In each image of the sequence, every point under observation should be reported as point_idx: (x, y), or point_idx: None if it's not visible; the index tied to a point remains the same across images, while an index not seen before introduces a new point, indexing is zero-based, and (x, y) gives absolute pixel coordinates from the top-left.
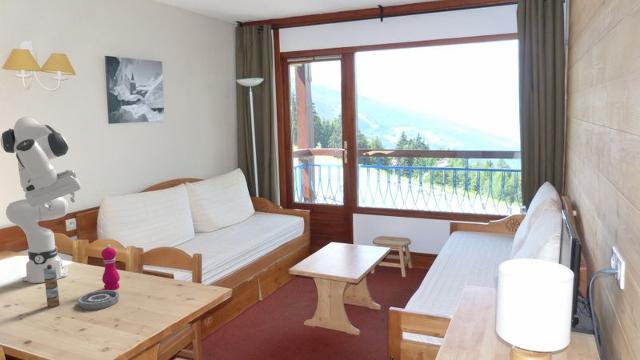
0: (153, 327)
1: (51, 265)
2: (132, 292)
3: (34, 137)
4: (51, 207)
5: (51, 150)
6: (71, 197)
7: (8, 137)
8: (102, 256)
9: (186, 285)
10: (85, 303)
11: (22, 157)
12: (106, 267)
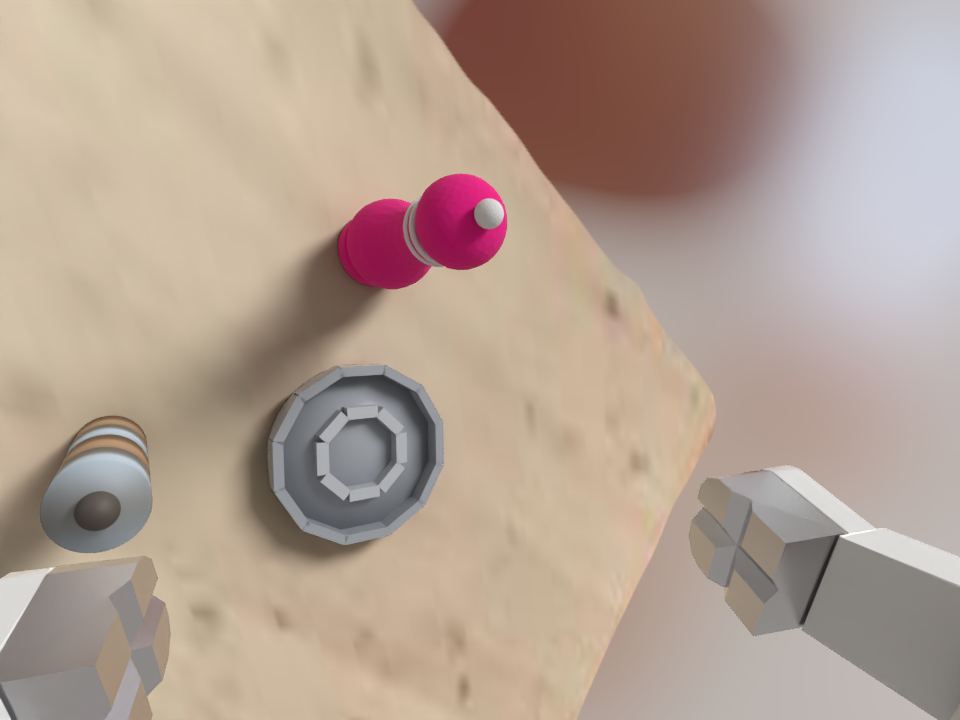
0: (563, 697)
1: (116, 507)
2: (467, 344)
3: None
4: (121, 620)
5: None
6: (808, 548)
7: None
8: (425, 249)
9: (628, 322)
10: (323, 537)
11: None
12: (408, 256)
